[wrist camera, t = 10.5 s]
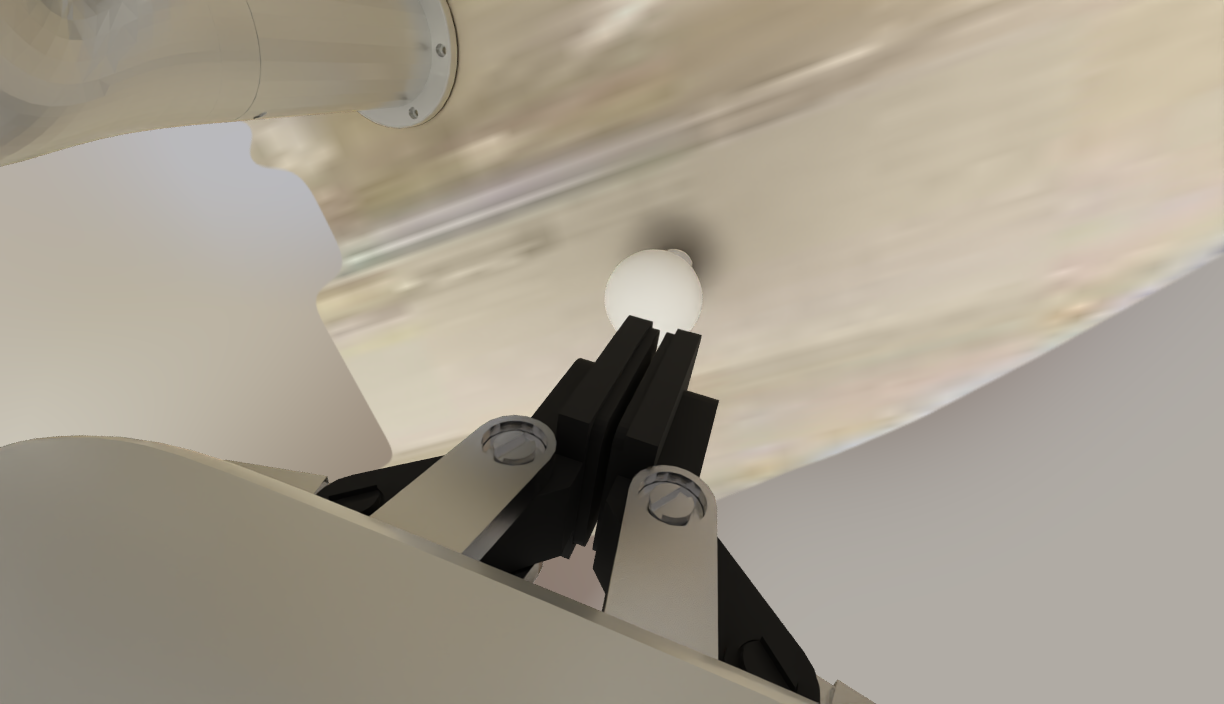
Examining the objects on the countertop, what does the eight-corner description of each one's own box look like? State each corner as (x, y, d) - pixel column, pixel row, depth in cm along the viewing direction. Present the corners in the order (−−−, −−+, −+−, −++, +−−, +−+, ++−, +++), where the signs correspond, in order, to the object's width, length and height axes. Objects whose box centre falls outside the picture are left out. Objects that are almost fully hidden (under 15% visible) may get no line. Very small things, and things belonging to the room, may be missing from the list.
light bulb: (725, 229, 38) (701, 278, 29) (710, 308, 41) (684, 375, 32) (641, 216, 40) (592, 259, 31) (633, 293, 43) (588, 353, 34)
